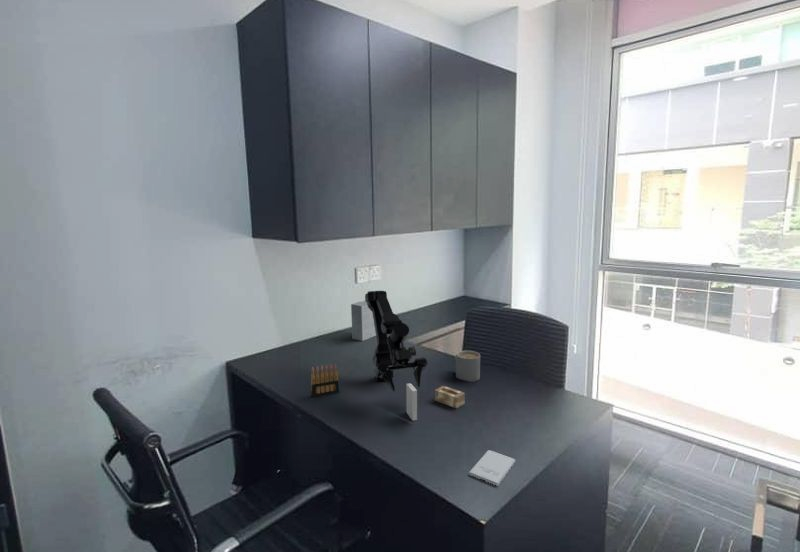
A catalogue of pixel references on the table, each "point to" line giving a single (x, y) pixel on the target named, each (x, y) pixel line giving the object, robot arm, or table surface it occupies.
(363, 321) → the hard drive box
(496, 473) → the external hard drive
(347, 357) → the table surface
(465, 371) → the coffee mug
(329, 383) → the ammunition clip
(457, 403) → the oak box
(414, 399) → the cover plate
